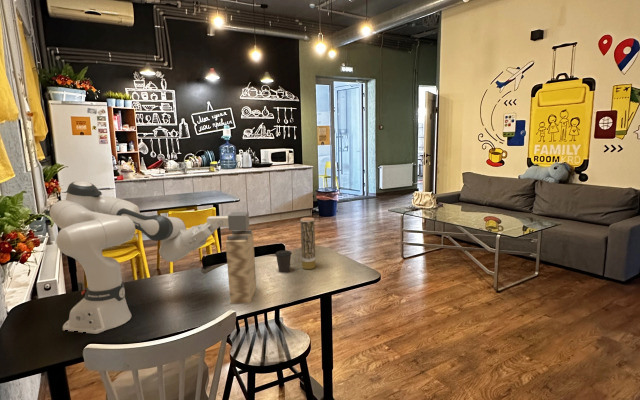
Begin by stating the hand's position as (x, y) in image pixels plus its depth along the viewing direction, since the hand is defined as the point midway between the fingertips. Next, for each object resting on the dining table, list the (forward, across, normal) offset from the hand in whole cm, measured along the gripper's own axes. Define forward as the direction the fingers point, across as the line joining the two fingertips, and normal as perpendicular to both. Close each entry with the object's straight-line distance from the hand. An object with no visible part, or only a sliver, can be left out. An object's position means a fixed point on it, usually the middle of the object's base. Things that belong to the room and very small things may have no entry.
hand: (223, 220), depth 156 cm
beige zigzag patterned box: (-11, 0, +32) cm, 34 cm away
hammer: (0, 0, +4) cm, 4 cm away
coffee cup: (+1, +28, +39) cm, 48 cm away
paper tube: (+11, +32, +45) cm, 56 cm away
